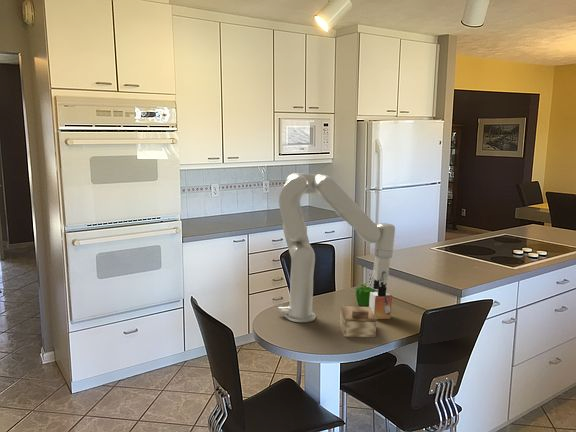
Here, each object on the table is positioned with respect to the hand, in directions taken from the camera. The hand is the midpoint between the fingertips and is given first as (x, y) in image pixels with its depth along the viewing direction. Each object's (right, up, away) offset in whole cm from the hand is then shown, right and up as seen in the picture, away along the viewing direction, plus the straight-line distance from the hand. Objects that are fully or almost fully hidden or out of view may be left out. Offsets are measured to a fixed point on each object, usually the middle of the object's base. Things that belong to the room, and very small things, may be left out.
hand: (379, 292), depth 204 cm
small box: (0, -11, +2) cm, 11 cm away
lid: (-11, -6, -14) cm, 19 cm away
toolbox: (-11, -13, -13) cm, 22 cm away
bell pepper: (-3, -9, +17) cm, 19 cm away
